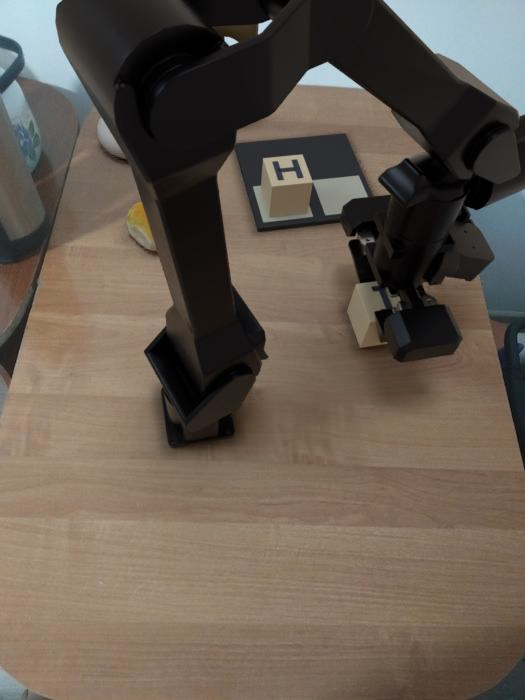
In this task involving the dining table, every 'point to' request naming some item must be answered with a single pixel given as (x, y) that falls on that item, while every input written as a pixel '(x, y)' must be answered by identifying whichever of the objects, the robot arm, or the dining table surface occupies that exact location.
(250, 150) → the word mat
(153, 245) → the bread roll
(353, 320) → the letter I
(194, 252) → the robot arm
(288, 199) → the letter H
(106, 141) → the donut
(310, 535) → the dining table surface
